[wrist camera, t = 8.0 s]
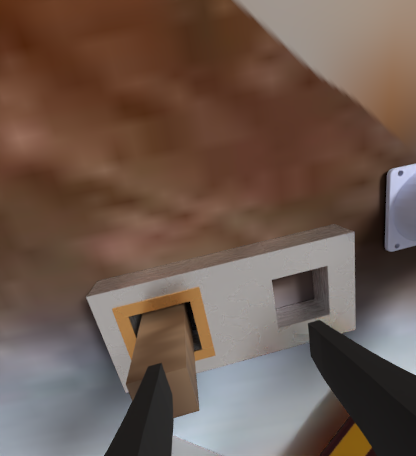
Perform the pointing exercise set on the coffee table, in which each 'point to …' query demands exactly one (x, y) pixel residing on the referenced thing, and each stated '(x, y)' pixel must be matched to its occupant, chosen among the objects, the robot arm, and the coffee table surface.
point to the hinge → (189, 449)
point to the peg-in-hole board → (234, 298)
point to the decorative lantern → (349, 442)
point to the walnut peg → (167, 355)
